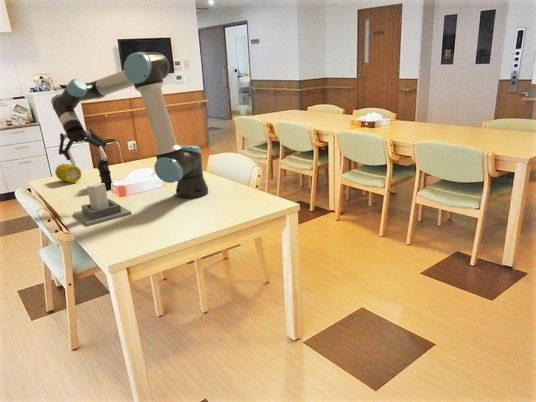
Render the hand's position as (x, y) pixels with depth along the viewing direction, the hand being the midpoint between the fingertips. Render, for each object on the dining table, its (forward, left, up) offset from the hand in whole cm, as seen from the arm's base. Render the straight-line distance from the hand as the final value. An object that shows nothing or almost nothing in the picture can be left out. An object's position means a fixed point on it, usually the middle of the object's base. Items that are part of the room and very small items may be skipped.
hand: (90, 162), depth 179 cm
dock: (-8, +10, -20) cm, 24 cm away
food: (+41, -37, -21) cm, 59 cm away
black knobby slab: (+13, -28, -21) cm, 37 cm away
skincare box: (-8, +10, -19) cm, 23 cm away
